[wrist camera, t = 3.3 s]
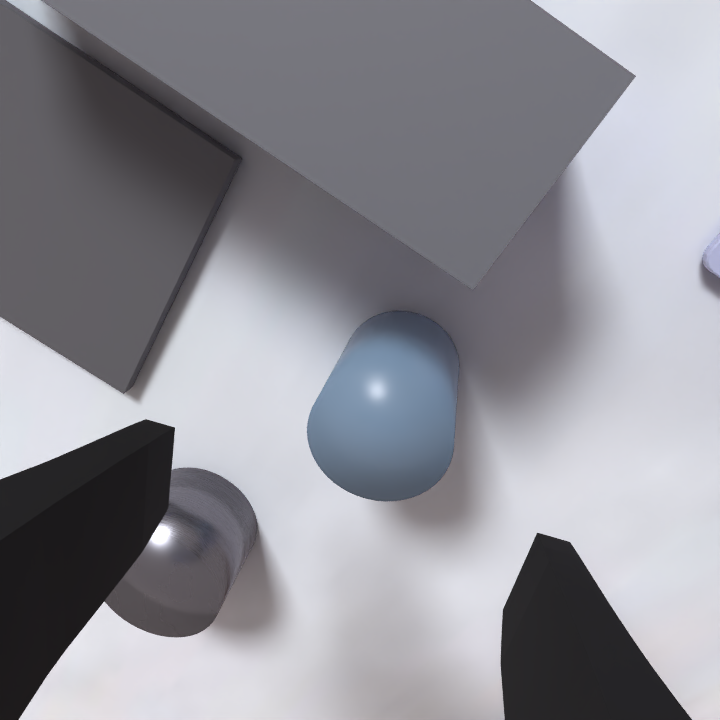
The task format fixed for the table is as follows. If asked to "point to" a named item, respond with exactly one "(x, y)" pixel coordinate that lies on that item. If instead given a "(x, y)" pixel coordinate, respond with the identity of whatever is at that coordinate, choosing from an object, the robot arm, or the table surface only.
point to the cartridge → (388, 409)
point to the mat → (95, 202)
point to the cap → (188, 557)
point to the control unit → (387, 101)
